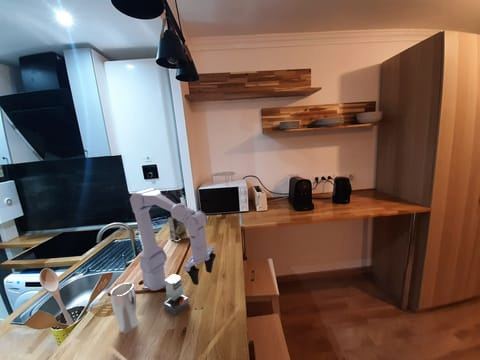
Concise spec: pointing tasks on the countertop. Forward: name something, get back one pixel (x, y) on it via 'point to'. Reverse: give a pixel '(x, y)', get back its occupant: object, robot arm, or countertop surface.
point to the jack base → (176, 310)
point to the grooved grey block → (174, 287)
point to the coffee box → (177, 229)
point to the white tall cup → (124, 306)
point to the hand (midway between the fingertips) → (202, 277)
